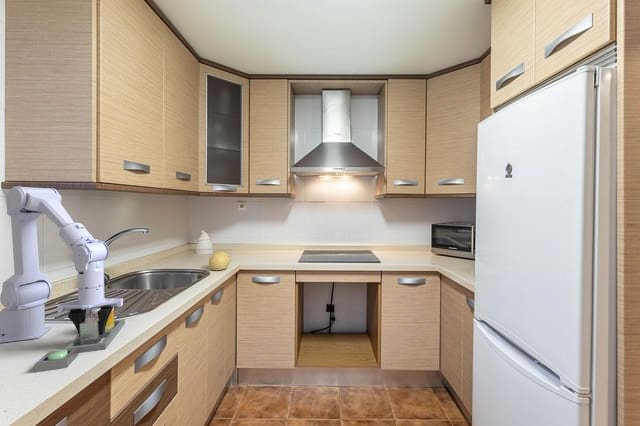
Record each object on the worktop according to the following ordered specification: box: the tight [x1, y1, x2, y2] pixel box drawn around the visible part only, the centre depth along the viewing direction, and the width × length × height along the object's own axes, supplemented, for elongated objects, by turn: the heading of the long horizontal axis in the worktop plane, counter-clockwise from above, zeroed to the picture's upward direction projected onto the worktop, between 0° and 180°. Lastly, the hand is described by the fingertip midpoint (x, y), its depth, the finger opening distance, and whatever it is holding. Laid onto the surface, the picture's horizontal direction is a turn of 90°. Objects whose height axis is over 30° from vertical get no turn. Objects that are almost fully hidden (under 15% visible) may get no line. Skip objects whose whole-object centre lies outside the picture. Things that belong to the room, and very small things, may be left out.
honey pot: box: [195, 230, 214, 255], centre depth 238 cm, size 13×13×18 cm
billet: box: [79, 317, 103, 346], centre depth 82 cm, size 4×4×6 cm
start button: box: [48, 348, 67, 360], centre depth 72 cm, size 4×4×2 cm
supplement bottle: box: [91, 307, 115, 331], centre depth 90 cm, size 5×5×10 cm
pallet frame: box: [64, 318, 126, 354], centre depth 86 cm, size 9×18×2 cm, turn 20°
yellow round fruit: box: [208, 251, 232, 271], centre depth 177 cm, size 12×12×11 cm
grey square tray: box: [34, 348, 79, 373], centre depth 72 cm, size 6×6×2 cm
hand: (92, 334), depth 82 cm, fingers closed on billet, 4 cm apart
